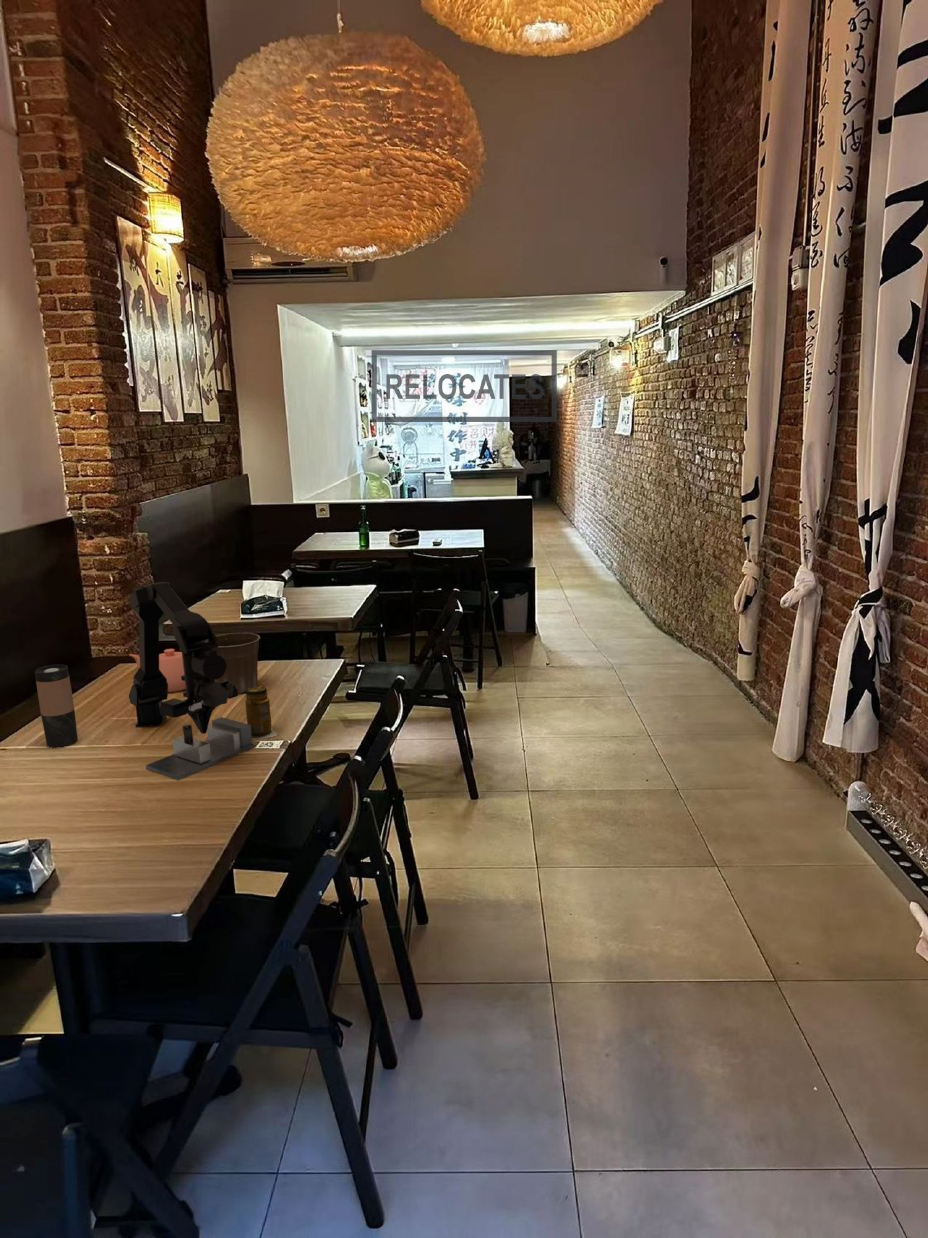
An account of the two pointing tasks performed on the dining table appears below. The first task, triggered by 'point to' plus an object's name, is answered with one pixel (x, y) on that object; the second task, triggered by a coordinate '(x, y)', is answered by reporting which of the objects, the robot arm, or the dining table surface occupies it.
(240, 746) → the vise
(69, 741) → the travel mug
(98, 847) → the dining table surface
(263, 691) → the condiment
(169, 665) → the teapot
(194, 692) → the robot arm
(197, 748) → the sliding jaw
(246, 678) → the plant pot
